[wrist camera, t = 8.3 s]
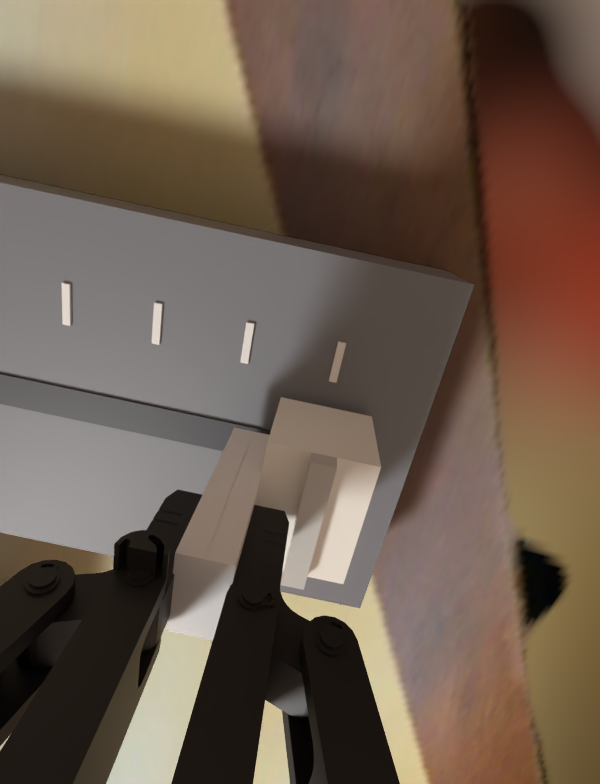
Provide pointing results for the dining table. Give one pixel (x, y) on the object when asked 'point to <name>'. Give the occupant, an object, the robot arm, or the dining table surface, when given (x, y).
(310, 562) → the slider cap
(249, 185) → the dining table surface
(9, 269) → the dimmer console
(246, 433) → the robot arm
